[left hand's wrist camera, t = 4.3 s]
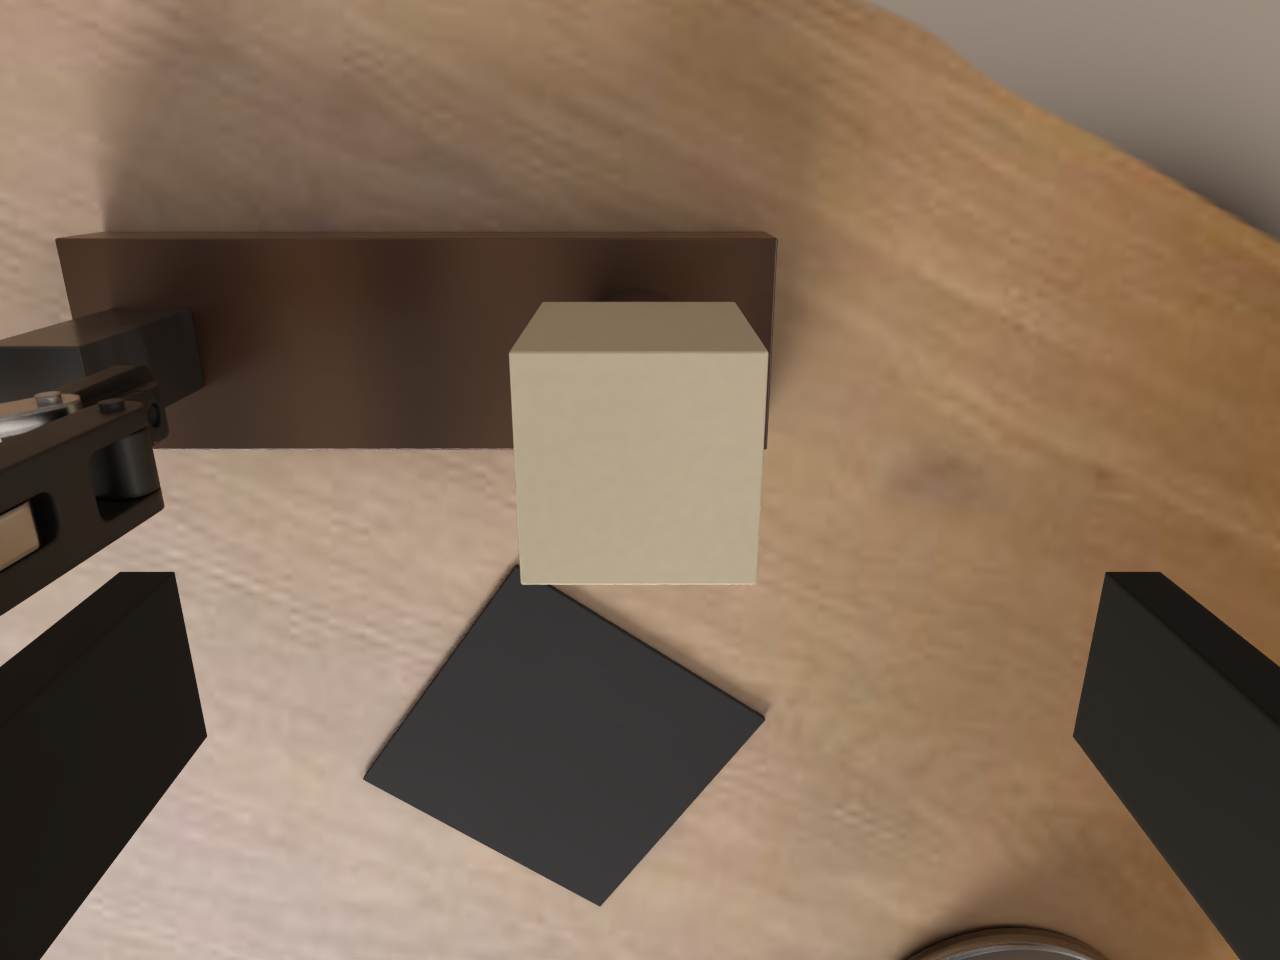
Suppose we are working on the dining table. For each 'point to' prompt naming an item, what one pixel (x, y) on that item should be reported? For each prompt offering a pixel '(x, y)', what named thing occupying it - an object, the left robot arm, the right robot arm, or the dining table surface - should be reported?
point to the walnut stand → (354, 325)
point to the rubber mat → (561, 740)
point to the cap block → (638, 443)
